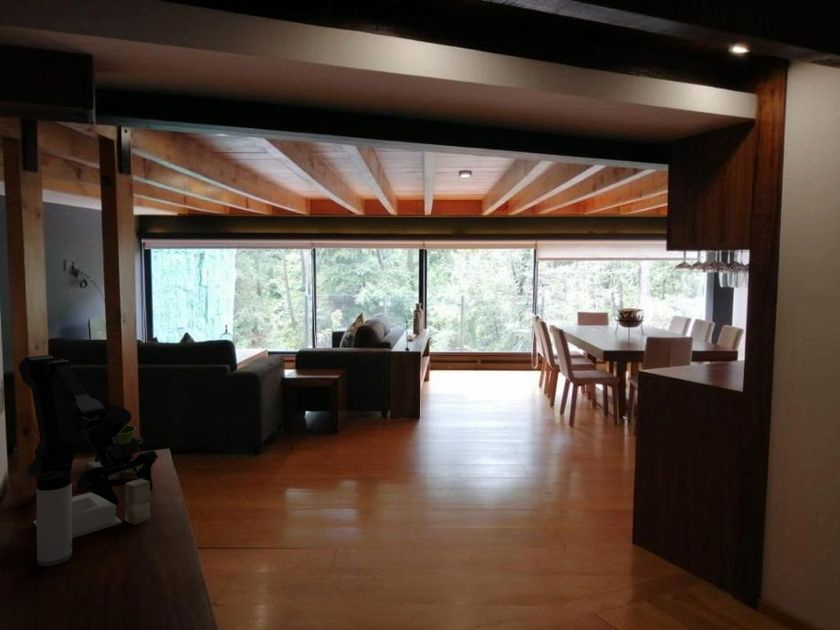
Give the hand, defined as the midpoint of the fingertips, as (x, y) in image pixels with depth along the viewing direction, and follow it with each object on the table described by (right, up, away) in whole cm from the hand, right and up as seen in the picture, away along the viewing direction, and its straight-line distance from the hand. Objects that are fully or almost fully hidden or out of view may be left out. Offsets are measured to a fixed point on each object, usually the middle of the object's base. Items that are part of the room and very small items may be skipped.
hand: (135, 497), depth 128 cm
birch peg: (0, -7, +2) cm, 7 cm away
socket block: (-14, -6, -1) cm, 15 cm away
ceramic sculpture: (-22, -5, +27) cm, 35 cm away
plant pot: (-29, -3, +40) cm, 50 cm away
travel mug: (-8, -8, -17) cm, 20 cm away
